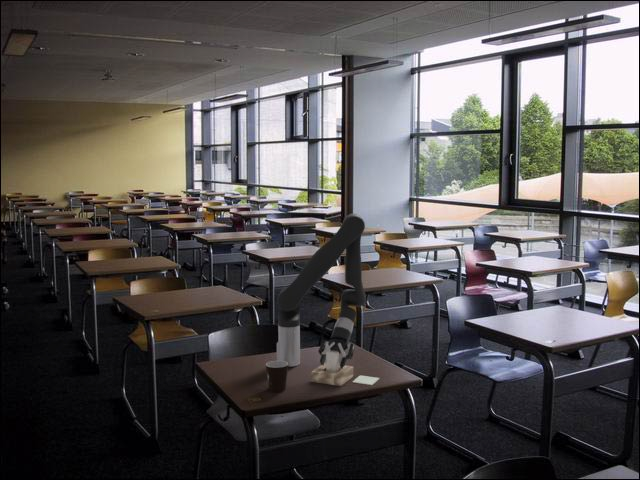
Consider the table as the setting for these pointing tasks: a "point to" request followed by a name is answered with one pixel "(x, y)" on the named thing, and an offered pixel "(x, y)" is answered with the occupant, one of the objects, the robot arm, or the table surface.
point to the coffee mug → (277, 375)
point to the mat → (365, 380)
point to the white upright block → (332, 361)
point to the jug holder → (332, 375)
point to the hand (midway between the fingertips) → (331, 365)
